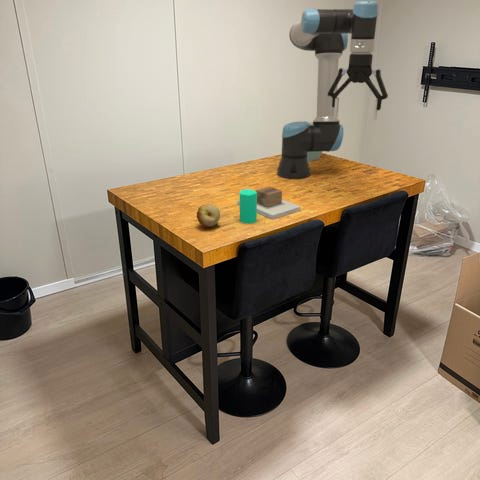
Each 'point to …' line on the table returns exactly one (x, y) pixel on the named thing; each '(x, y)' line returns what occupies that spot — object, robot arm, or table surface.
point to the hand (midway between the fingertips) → (354, 118)
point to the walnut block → (269, 196)
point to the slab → (277, 209)
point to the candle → (248, 206)
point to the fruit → (208, 215)
